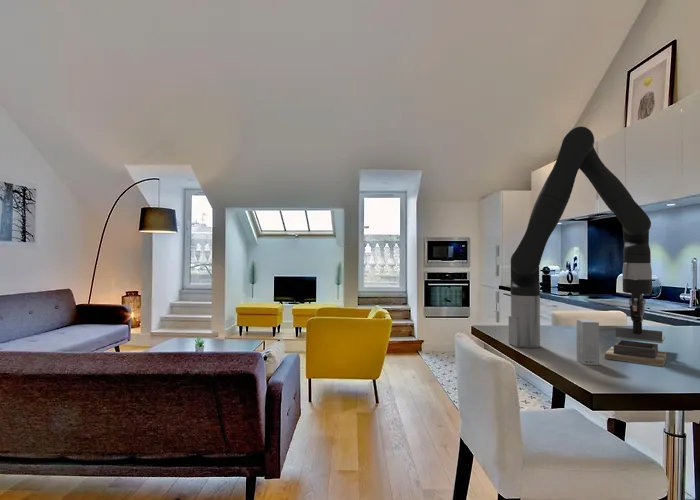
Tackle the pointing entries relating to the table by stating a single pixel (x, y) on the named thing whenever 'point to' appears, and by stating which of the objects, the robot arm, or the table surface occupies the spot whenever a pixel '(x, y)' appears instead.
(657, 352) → the socket board
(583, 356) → the skincare box
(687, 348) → the table surface
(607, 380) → the table surface
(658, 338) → the cover
